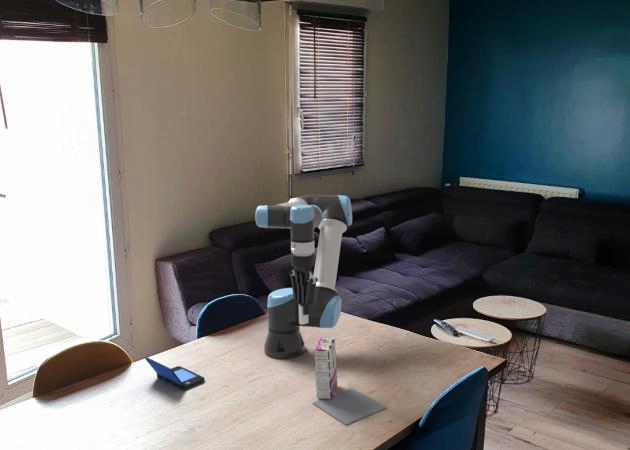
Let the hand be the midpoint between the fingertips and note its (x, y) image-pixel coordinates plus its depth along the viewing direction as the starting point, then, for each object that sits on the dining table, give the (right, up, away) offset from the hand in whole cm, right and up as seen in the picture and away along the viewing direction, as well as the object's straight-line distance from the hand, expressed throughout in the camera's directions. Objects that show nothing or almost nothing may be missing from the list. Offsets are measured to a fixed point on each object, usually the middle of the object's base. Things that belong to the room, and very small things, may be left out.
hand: (303, 323), depth 200 cm
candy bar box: (+8, -21, -5) cm, 23 cm away
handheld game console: (-43, -21, +4) cm, 48 cm away
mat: (+14, -23, -14) cm, 30 cm away
